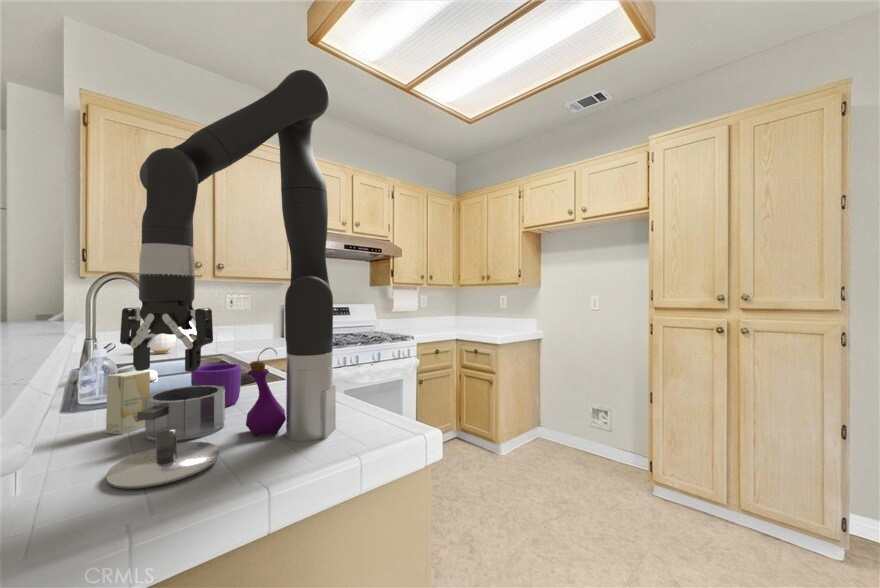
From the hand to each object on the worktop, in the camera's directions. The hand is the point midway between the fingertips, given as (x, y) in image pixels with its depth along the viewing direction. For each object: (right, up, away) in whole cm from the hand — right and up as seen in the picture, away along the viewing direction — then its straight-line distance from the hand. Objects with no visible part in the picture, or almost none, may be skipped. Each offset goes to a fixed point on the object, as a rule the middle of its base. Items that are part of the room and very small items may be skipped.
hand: (166, 370), depth 63 cm
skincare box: (-22, -17, +19) cm, 34 cm away
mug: (-16, -17, +40) cm, 46 cm away
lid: (0, -17, 0) cm, 17 cm away
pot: (-9, -17, +18) cm, 26 cm away
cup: (-96, -17, +129) cm, 161 cm away
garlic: (-54, -17, +65) cm, 86 cm away
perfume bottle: (+9, -17, +18) cm, 26 cm away
